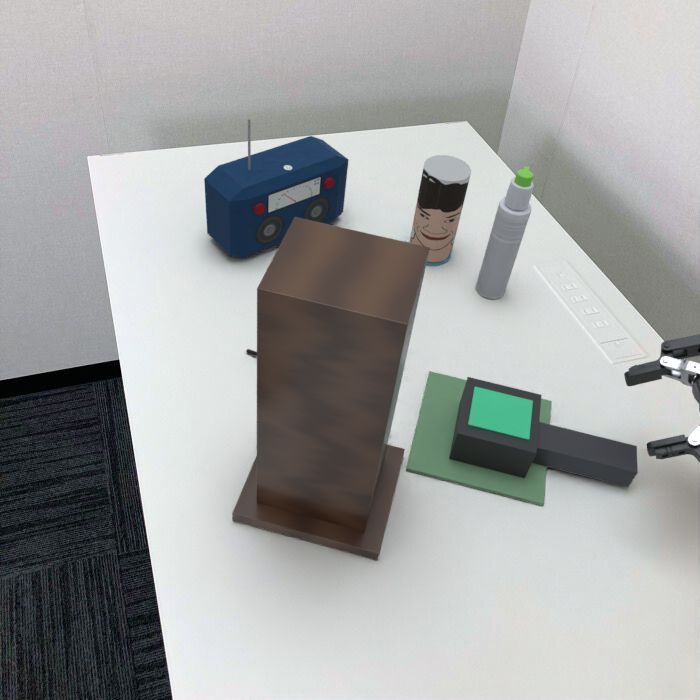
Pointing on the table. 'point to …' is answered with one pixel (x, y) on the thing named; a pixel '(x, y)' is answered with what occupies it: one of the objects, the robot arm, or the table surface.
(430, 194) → the printed can
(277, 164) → the radio
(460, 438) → the green-topped block with handle
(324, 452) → the stand
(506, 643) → the table surface
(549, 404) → the mat
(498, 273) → the bottle
